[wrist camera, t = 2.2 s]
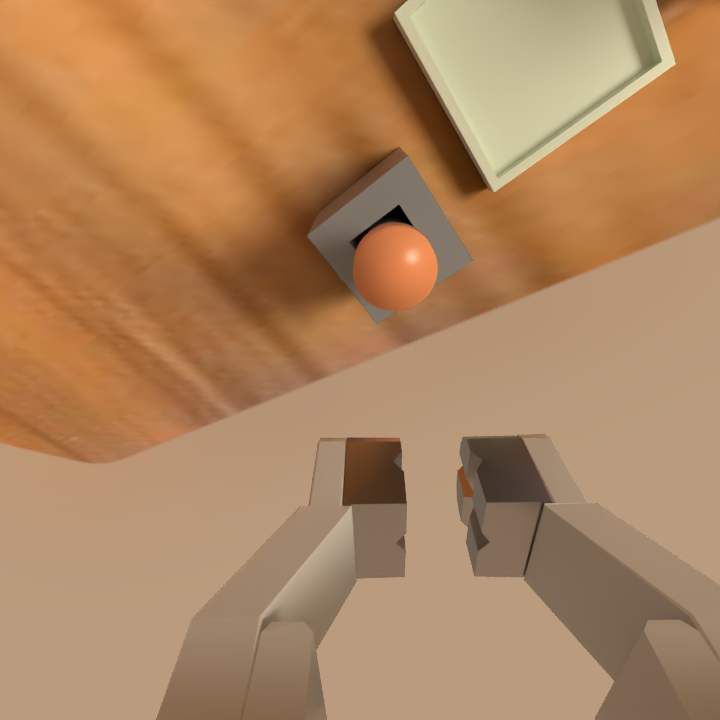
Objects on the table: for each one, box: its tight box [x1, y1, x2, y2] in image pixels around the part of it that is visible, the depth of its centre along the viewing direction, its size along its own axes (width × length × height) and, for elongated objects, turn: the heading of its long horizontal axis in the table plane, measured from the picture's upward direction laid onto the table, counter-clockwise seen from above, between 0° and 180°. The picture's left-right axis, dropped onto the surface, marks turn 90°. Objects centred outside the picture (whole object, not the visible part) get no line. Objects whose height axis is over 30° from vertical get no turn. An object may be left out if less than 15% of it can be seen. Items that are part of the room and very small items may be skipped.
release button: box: [353, 215, 438, 311], centre depth 20 cm, size 4×4×6 cm
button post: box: [307, 147, 473, 324], centre depth 24 cm, size 6×6×6 cm
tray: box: [393, 0, 676, 192], centre depth 21 cm, size 10×10×2 cm
